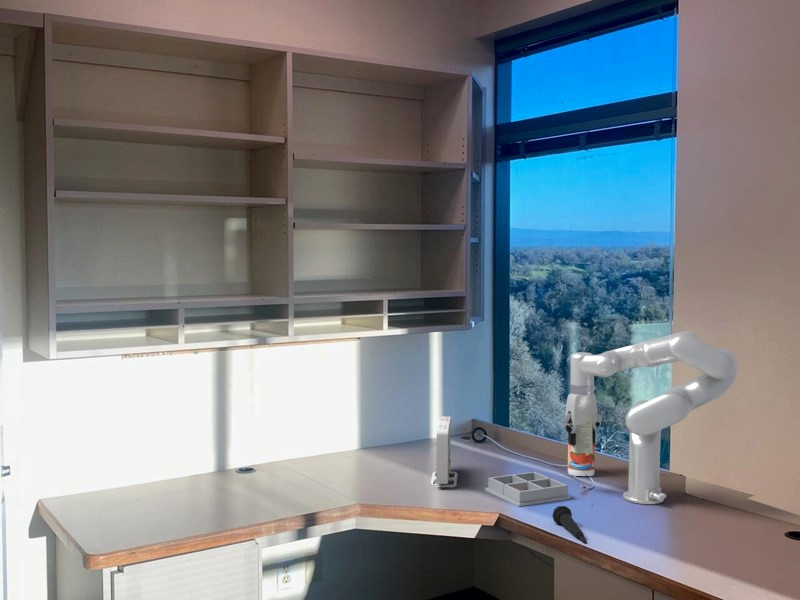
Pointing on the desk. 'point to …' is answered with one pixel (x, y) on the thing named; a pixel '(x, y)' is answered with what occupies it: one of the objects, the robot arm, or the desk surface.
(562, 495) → the gray compartment tray
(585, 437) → the skincare box
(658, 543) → the desk surface
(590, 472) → the fruit juice
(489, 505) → the desk surface
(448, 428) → the network device
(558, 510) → the microphone
